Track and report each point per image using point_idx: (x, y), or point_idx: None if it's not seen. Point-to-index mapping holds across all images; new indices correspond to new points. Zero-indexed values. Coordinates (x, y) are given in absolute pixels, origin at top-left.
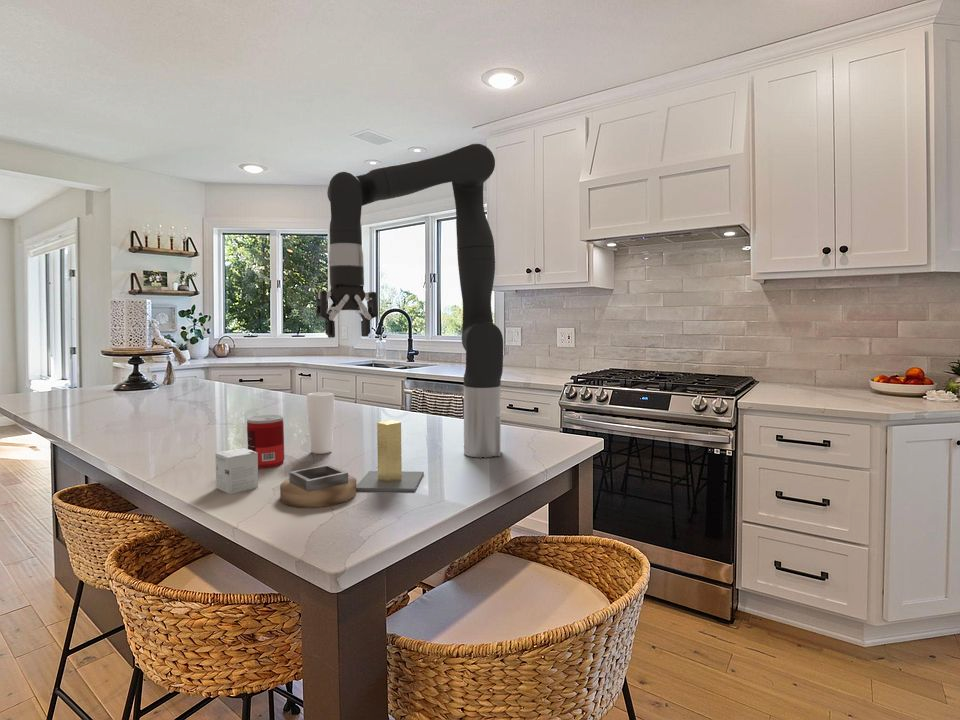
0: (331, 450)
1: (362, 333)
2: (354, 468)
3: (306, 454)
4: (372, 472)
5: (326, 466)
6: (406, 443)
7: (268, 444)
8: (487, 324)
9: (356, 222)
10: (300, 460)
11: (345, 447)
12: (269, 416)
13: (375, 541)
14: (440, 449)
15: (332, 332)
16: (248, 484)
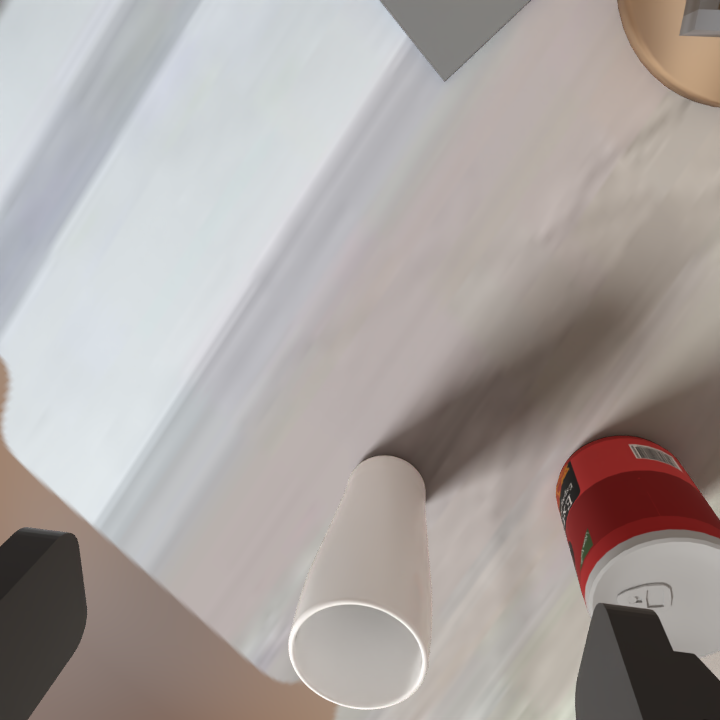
0: (363, 461)
1: (62, 636)
2: (436, 198)
3: (443, 497)
4: (449, 49)
5: (716, 10)
6: (79, 367)
7: (671, 479)
8: None
9: None
10: (507, 443)
11: (286, 481)
12: None
13: None
14: (21, 189)
15: (670, 655)
16: None
